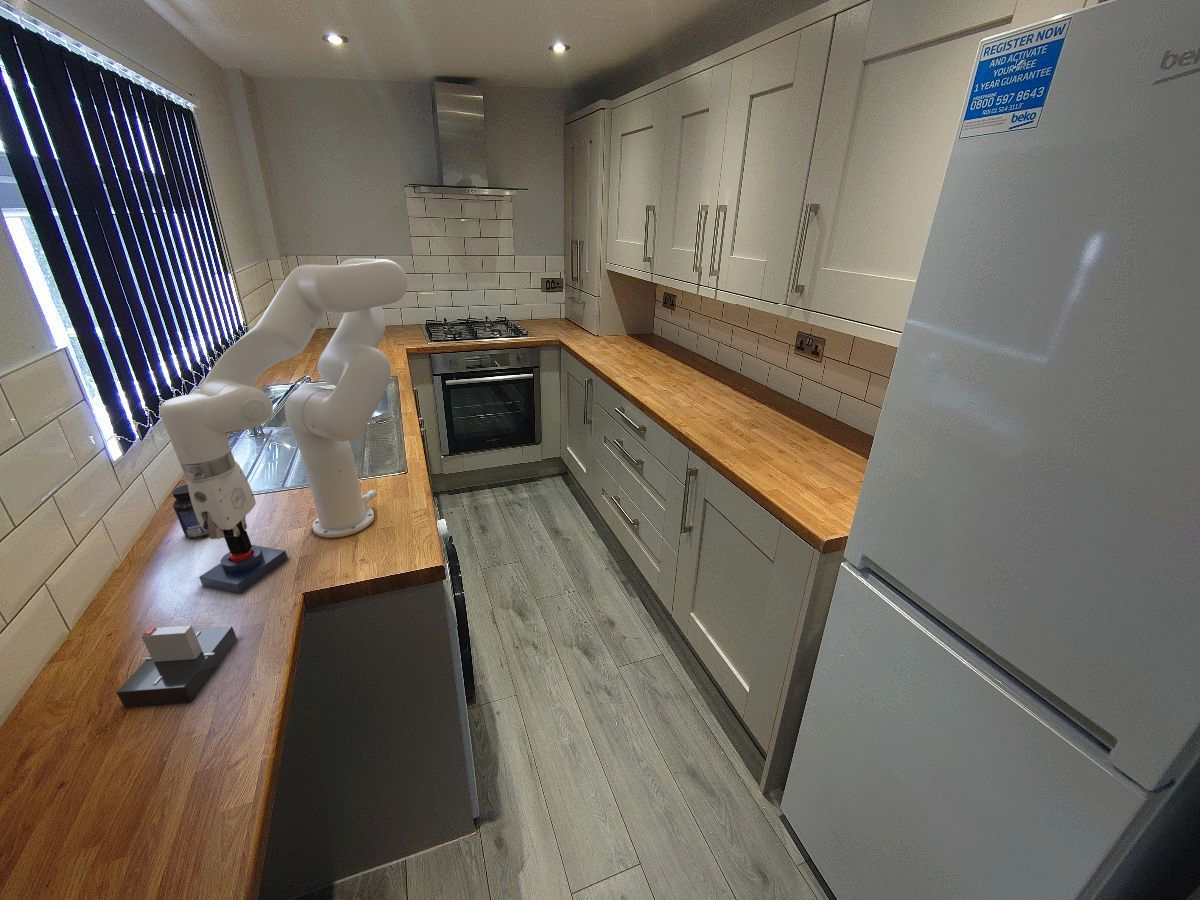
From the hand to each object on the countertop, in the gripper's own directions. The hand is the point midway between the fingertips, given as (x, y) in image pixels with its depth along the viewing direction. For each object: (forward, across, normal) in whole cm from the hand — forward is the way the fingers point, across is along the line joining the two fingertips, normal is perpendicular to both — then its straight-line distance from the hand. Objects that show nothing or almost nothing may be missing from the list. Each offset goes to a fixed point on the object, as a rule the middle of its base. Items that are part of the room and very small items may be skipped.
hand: (241, 550), depth 100 cm
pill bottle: (+5, +16, +18) cm, 24 cm away
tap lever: (+2, -25, -4) cm, 25 cm away
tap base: (+5, -25, -4) cm, 26 cm away
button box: (+5, 0, 0) cm, 5 cm away
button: (+2, 0, 0) cm, 2 cm away
